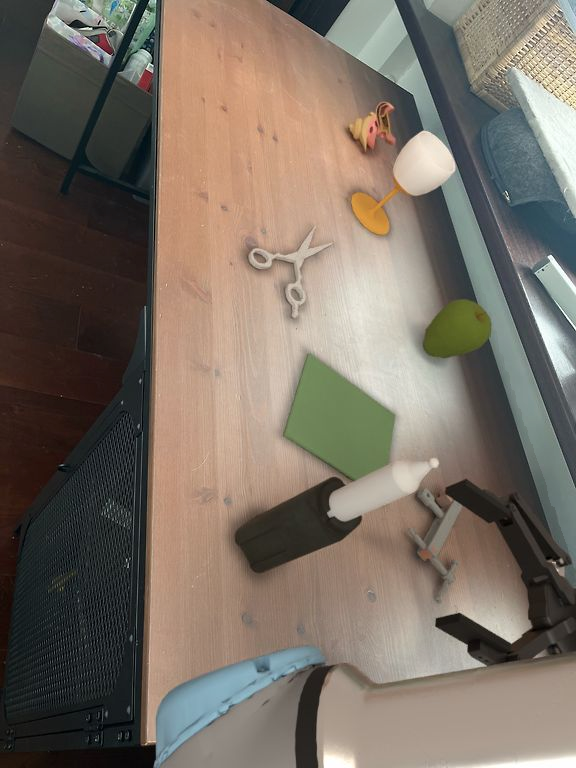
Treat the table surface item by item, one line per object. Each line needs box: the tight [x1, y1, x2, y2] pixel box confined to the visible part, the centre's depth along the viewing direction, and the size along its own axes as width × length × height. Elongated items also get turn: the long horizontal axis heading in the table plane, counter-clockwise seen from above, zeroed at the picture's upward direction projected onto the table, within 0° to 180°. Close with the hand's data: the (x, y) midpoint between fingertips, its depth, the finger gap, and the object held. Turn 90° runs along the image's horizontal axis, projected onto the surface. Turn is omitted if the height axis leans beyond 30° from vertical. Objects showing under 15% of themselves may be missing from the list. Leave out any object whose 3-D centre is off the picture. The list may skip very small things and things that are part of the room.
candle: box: [234, 457, 440, 574], centre depth 57 cm, size 5×5×25 cm
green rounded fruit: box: [422, 298, 493, 359], centre depth 98 cm, size 9×8×12 cm
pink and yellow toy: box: [349, 101, 397, 154], centre depth 119 cm, size 9×10×10 cm
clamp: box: [407, 487, 464, 605], centre depth 81 cm, size 15×2×10 cm
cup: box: [350, 130, 456, 236], centre depth 104 cm, size 9×9×16 cm
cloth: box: [283, 352, 396, 482], centre depth 81 cm, size 14×16×1 cm
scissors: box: [247, 224, 335, 319], centre depth 90 cm, size 11×1×20 cm
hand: (451, 547), depth 57 cm, fingers open, 13 cm apart
